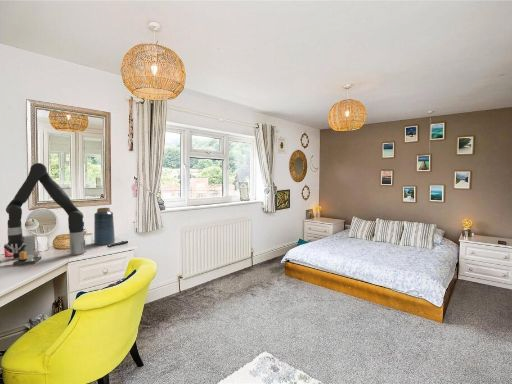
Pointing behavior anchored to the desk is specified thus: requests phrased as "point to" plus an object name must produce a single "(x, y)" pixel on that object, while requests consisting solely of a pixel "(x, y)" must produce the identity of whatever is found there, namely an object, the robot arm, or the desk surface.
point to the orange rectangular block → (23, 256)
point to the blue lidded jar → (103, 227)
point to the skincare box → (28, 244)
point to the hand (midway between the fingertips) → (16, 258)
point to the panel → (29, 259)
